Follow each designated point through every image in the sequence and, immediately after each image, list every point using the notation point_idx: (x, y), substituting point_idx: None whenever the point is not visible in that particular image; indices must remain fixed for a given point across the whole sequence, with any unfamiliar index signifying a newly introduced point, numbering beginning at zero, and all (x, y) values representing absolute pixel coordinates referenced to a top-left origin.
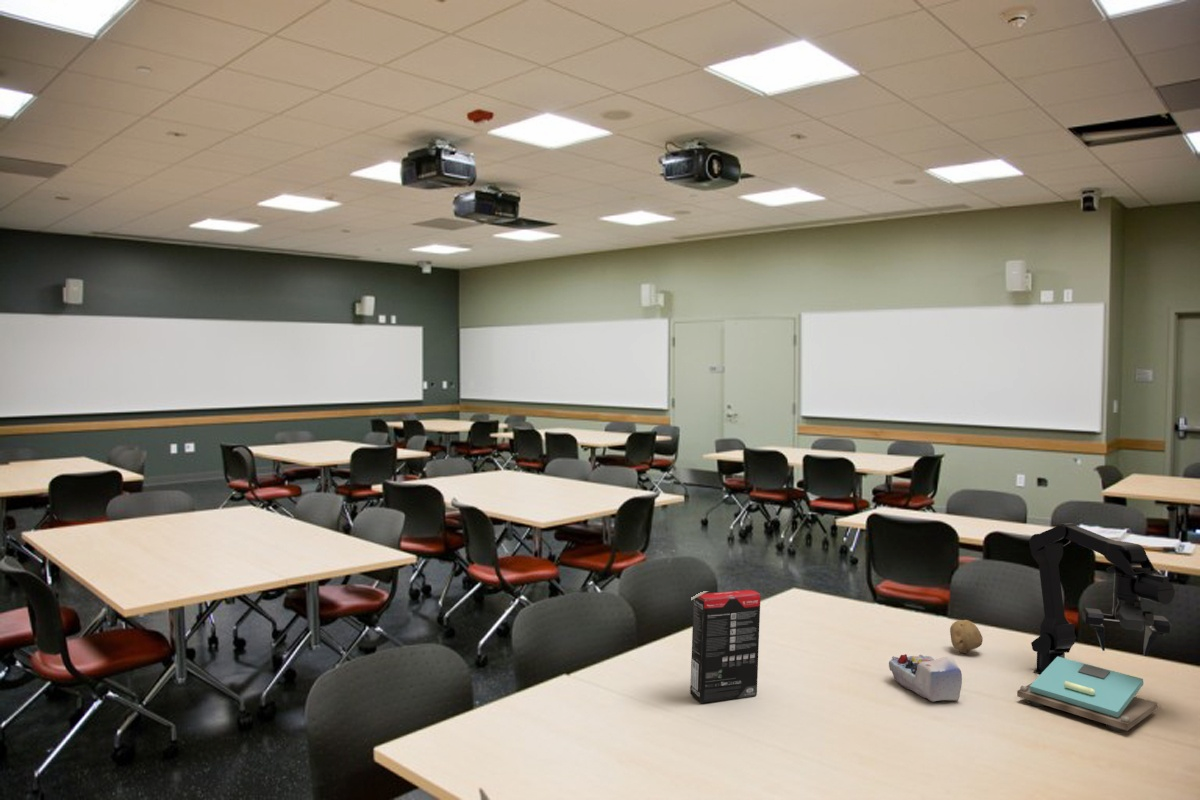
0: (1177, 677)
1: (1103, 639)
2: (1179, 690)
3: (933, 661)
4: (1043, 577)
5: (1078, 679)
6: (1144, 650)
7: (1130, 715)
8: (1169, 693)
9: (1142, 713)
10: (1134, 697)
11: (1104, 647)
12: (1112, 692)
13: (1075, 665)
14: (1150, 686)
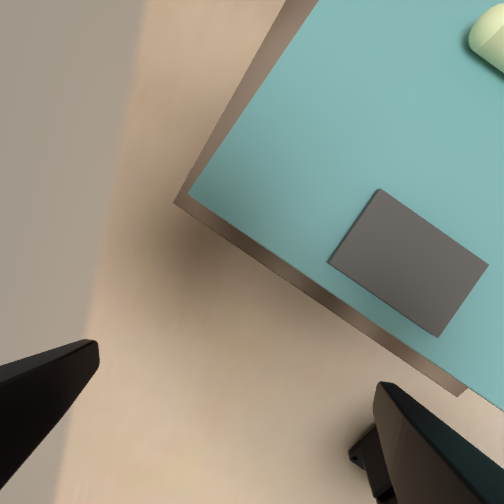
0: (85, 470)
1: (491, 497)
2: (96, 395)
3: None
4: None
5: (497, 195)
6: (65, 378)
7: (309, 9)
8: (121, 371)
9: (253, 61)
10: (233, 233)
11: (398, 401)
12: (371, 65)
13: (474, 338)
14: (154, 407)
